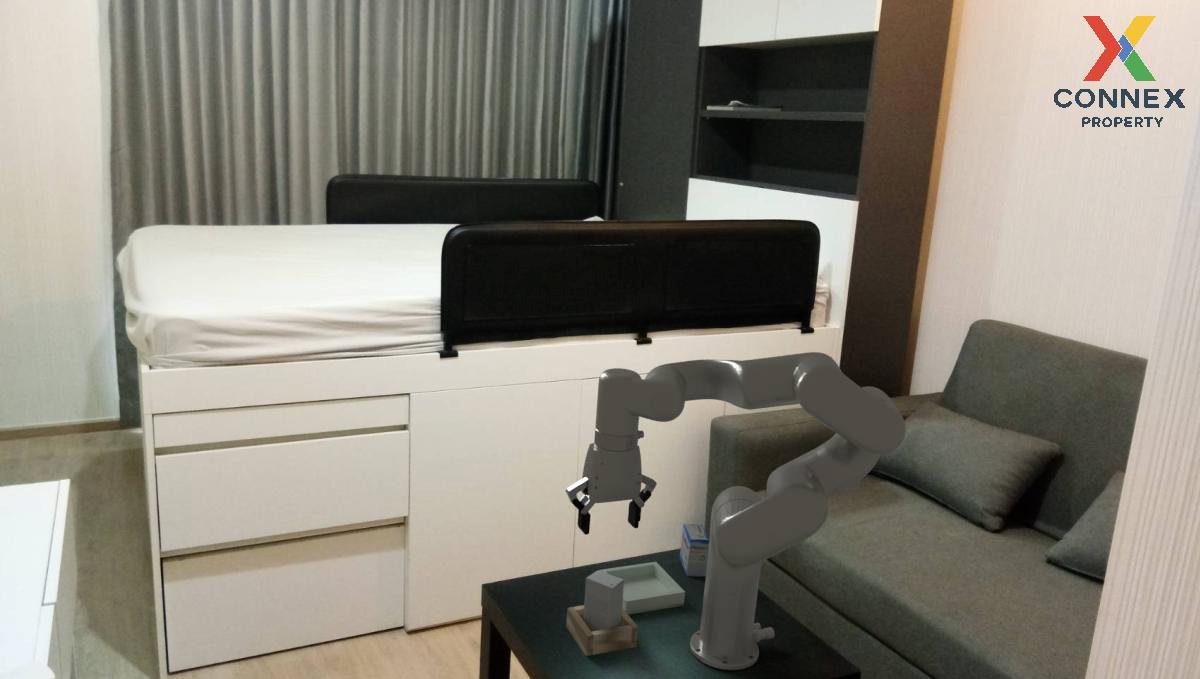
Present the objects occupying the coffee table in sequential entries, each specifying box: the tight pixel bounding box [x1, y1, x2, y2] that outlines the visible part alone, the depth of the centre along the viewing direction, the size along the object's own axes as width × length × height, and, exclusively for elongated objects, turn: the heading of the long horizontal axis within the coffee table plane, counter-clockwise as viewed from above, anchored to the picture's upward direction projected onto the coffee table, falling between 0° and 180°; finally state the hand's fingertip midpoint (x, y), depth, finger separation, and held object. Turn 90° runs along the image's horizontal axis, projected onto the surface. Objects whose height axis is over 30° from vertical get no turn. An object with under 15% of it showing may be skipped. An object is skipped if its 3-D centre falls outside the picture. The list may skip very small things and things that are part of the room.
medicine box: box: [679, 523, 710, 577], centre depth 198 cm, size 8×4×9 cm, turn 6°
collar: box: [565, 604, 639, 657], centre depth 170 cm, size 10×10×4 cm
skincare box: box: [583, 569, 624, 632], centre depth 169 cm, size 6×4×12 cm
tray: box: [599, 561, 686, 616], centre depth 186 cm, size 13×13×3 cm
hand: (608, 528), depth 165 cm, fingers open, 9 cm apart
